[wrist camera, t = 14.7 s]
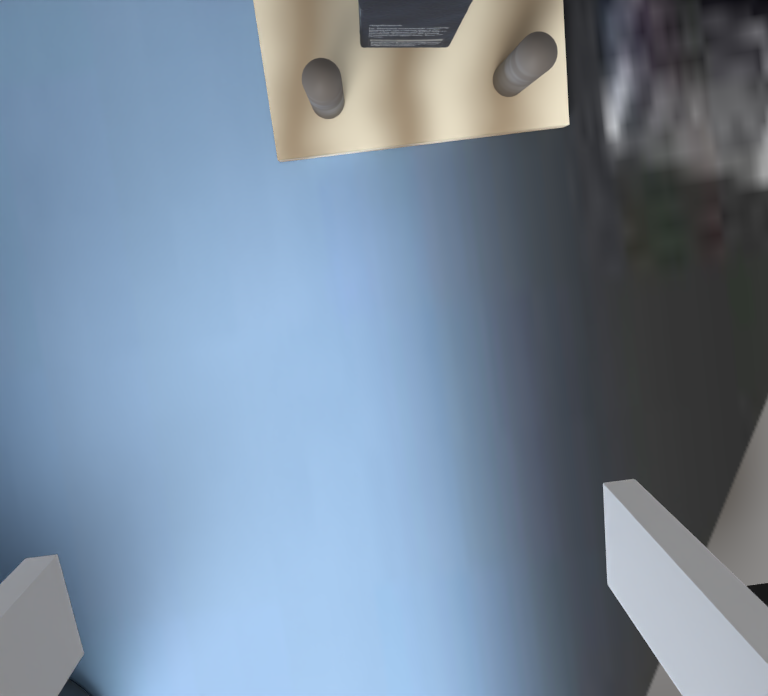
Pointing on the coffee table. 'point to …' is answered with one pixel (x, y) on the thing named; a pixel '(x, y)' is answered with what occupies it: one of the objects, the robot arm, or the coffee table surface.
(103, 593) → the coffee table surface
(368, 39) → the box
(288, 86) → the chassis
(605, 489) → the robot arm
